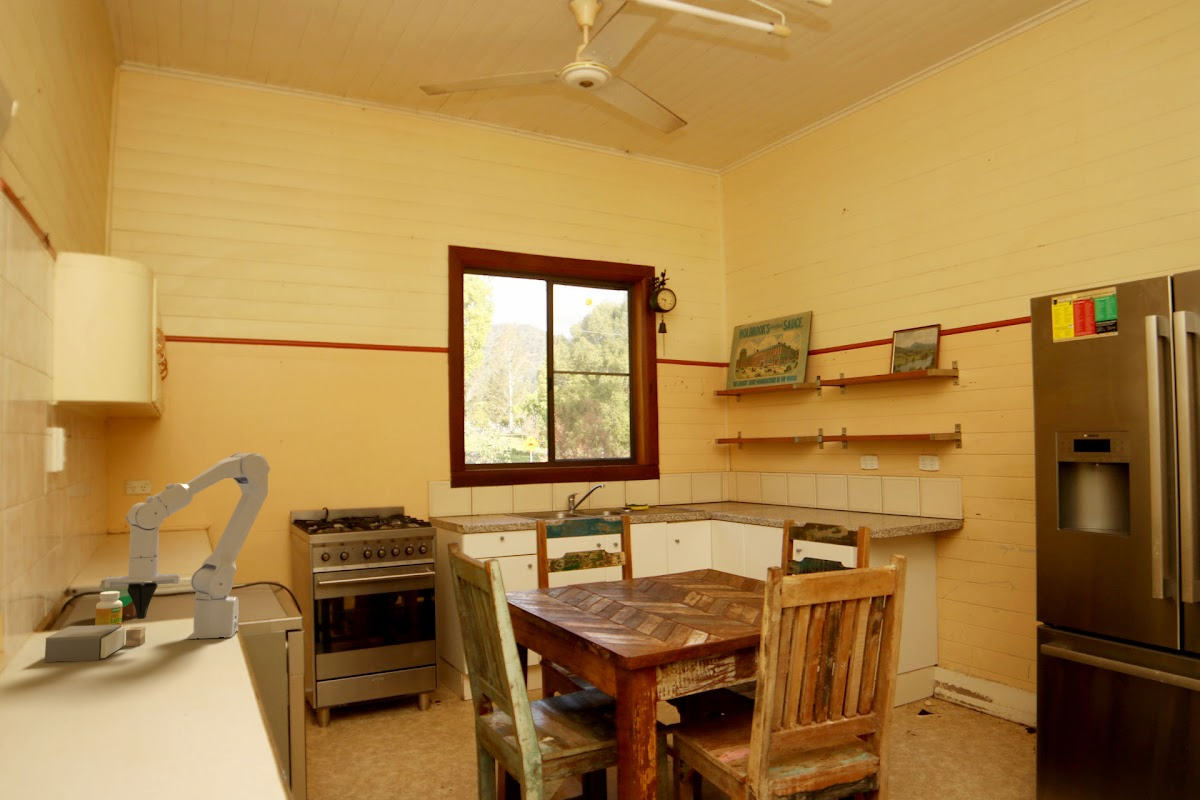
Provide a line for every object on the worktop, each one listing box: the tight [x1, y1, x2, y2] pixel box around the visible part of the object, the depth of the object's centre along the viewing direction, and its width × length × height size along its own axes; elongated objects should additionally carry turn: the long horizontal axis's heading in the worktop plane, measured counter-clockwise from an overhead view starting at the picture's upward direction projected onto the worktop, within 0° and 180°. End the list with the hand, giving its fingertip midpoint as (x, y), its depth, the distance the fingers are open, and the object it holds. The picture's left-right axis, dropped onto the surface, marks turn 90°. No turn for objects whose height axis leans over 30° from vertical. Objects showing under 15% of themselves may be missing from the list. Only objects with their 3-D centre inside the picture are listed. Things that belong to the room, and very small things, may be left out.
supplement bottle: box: [94, 591, 123, 628], centre depth 189 cm, size 5×5×10 cm
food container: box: [99, 576, 142, 621], centre depth 206 cm, size 12×6×10 cm, turn 73°
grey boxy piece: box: [44, 624, 120, 663], centre depth 169 cm, size 10×11×5 cm
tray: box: [101, 626, 126, 659], centre depth 169 cm, size 10×11×4 cm
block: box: [124, 626, 147, 647], centre depth 178 cm, size 3×3×4 cm
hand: (141, 617), depth 177 cm, fingers closed
